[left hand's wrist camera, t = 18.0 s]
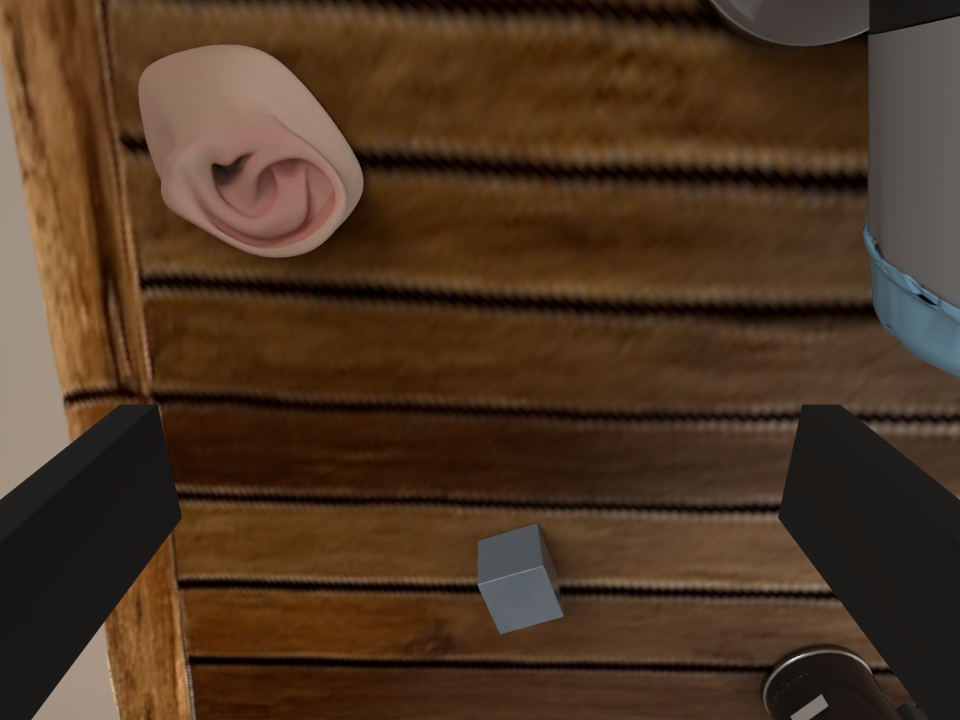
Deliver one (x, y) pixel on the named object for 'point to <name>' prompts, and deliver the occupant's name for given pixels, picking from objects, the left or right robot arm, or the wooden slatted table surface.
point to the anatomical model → (247, 150)
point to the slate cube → (518, 579)
